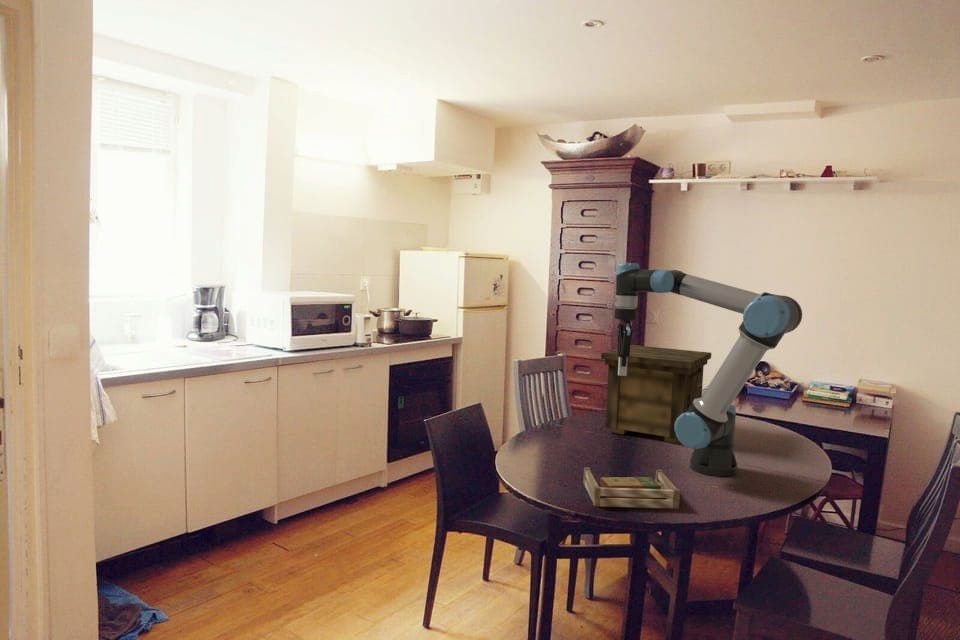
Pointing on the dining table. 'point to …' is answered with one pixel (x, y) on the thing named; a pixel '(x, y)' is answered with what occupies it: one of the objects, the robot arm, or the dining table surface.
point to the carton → (629, 484)
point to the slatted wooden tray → (633, 493)
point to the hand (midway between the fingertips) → (622, 375)
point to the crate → (652, 389)
